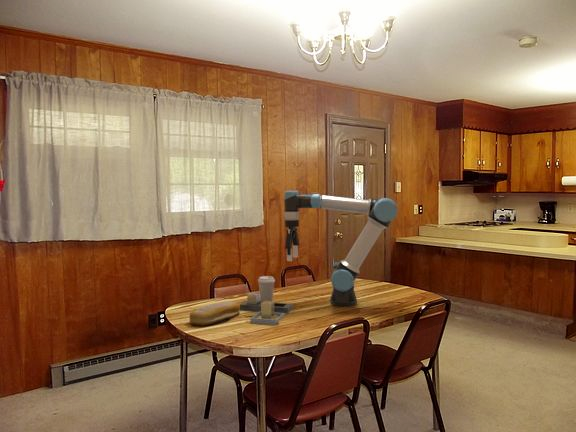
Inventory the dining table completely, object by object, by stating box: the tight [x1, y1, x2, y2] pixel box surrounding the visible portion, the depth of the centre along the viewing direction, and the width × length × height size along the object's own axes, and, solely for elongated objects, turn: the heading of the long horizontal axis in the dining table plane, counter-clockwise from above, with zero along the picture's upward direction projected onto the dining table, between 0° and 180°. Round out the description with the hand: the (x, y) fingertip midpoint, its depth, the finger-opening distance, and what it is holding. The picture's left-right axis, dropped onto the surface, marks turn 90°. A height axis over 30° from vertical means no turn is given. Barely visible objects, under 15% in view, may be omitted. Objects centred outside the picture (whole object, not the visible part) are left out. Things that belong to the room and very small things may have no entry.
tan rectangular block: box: [260, 301, 275, 320], centre depth 213 cm, size 5×5×8 cm
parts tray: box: [250, 311, 286, 326], centre depth 213 cm, size 13×13×2 cm
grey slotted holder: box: [239, 300, 293, 315], centre depth 229 cm, size 26×9×4 cm, turn 74°
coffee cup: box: [257, 275, 276, 302], centre depth 244 cm, size 10×10×15 cm
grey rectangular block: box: [246, 292, 260, 305], centre depth 231 cm, size 5×5×8 cm
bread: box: [189, 301, 241, 327], centre depth 214 cm, size 13×26×8 cm, turn 141°
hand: (292, 259), depth 236 cm, fingers open, 13 cm apart
